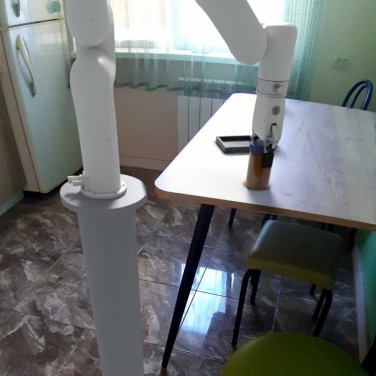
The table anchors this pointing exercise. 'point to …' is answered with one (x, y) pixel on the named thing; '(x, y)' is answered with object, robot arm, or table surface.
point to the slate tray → (234, 143)
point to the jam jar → (257, 173)
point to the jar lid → (257, 146)
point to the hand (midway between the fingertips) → (260, 161)
